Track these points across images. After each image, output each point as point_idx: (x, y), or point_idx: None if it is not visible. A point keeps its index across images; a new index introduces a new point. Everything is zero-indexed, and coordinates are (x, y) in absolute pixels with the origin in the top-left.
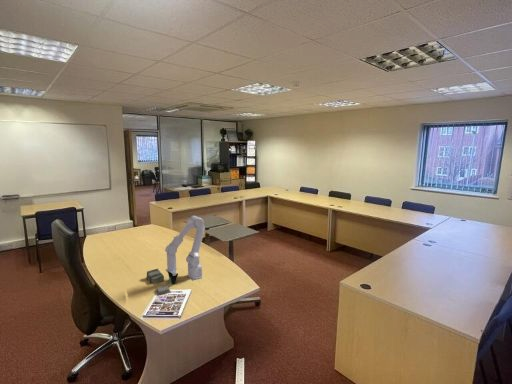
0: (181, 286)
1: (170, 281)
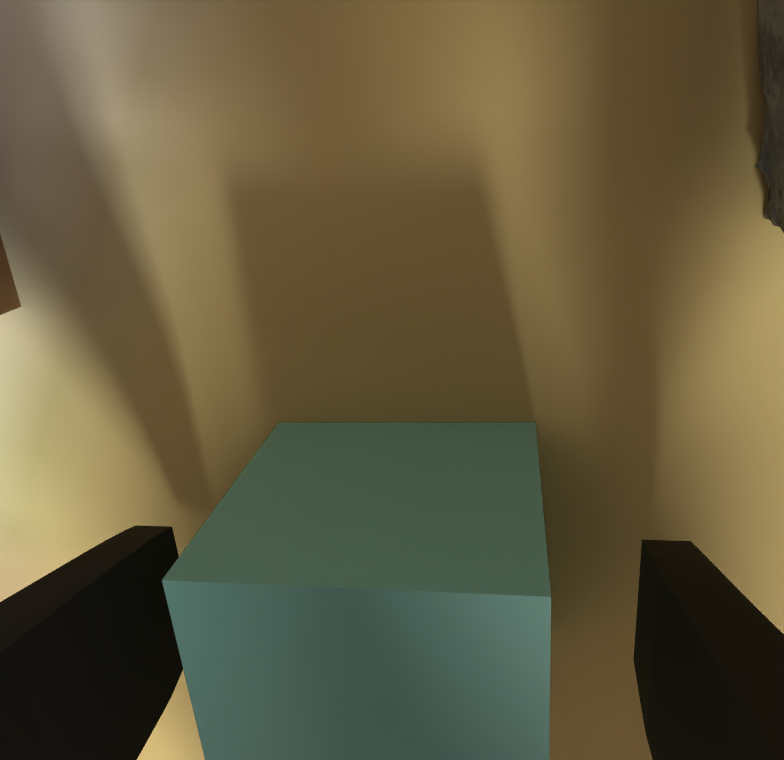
0: None
1: (207, 540)
